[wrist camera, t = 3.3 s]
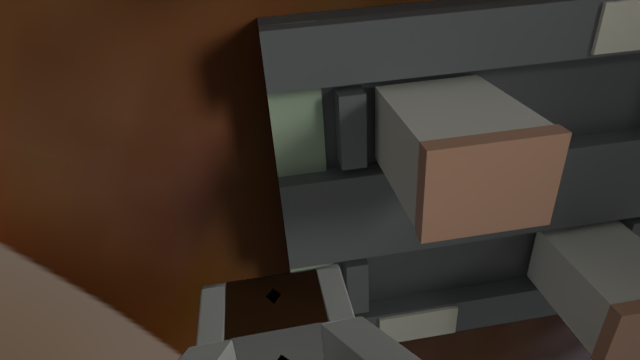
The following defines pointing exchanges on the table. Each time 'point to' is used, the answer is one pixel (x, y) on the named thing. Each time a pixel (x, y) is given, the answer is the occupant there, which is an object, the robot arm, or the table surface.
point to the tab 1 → (467, 157)
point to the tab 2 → (593, 285)
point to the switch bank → (430, 64)
